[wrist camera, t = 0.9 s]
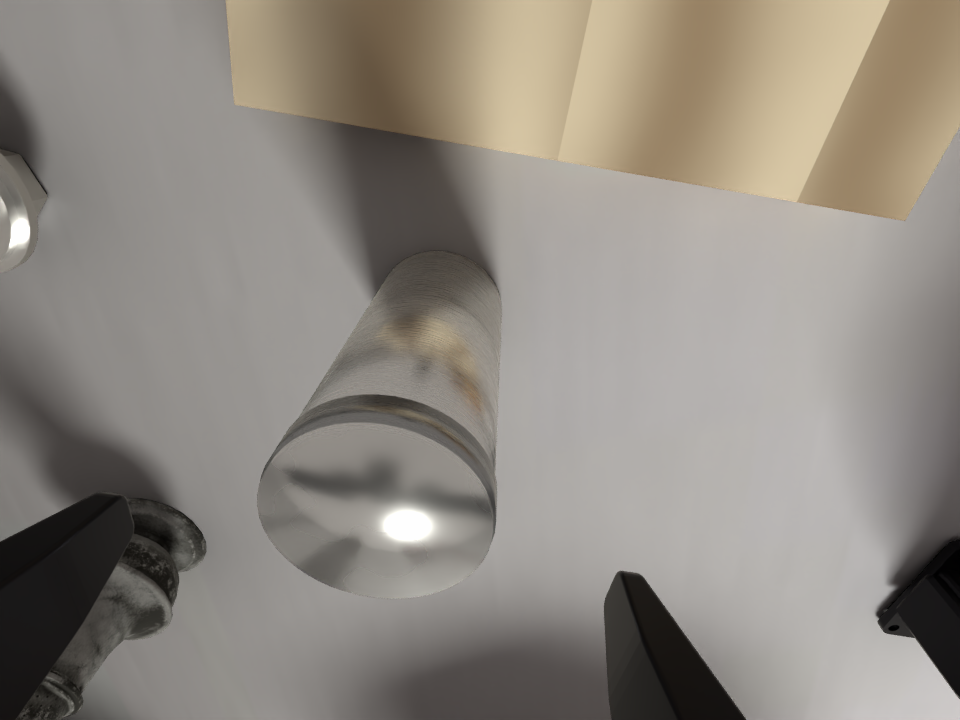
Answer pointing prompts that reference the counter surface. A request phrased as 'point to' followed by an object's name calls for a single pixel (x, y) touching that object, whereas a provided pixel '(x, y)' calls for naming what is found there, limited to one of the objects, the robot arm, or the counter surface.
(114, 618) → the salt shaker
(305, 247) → the counter surface
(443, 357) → the grey cylindrical piece
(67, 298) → the counter surface
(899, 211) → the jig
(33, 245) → the screw
